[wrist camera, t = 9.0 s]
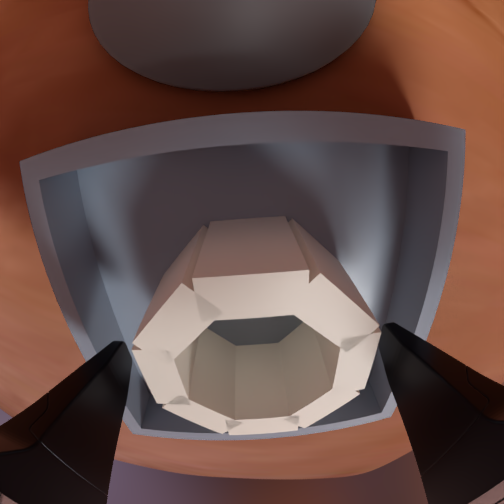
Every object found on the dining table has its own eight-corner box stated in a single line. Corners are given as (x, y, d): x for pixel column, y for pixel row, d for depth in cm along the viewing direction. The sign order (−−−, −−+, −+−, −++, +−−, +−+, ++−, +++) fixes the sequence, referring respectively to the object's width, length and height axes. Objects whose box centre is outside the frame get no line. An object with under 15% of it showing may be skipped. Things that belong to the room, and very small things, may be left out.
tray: (417, 125, 9) (465, 129, 6) (374, 379, 15) (390, 416, 12) (66, 149, 9) (19, 161, 6) (143, 394, 15) (133, 433, 12)
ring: (344, 212, 10) (396, 261, 6) (327, 375, 13) (345, 438, 10) (151, 226, 10) (106, 282, 6) (192, 385, 13) (183, 450, 10)
